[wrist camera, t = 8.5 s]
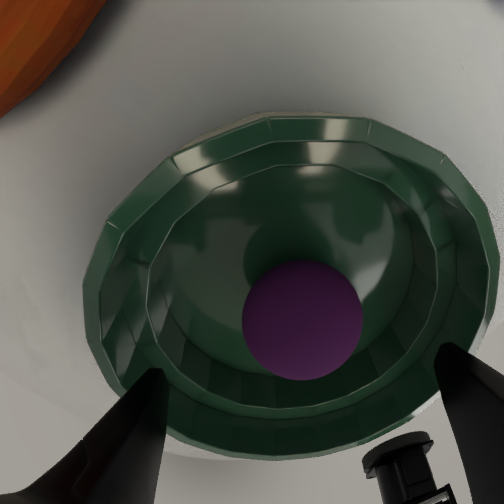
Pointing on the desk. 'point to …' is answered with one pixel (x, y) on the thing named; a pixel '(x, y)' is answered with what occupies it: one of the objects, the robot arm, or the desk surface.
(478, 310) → the bowl
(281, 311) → the ball
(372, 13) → the desk surface
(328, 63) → the desk surface
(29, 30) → the donut
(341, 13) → the desk surface
